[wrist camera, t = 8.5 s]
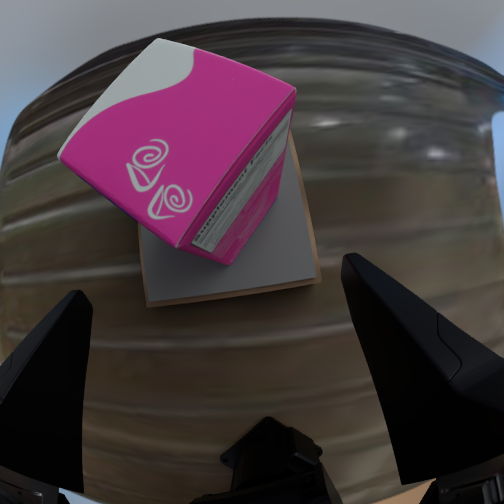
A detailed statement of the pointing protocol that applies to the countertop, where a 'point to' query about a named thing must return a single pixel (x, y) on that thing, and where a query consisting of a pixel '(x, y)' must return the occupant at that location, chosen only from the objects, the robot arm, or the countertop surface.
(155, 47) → the supplement box
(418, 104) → the countertop surface
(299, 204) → the walnut base
